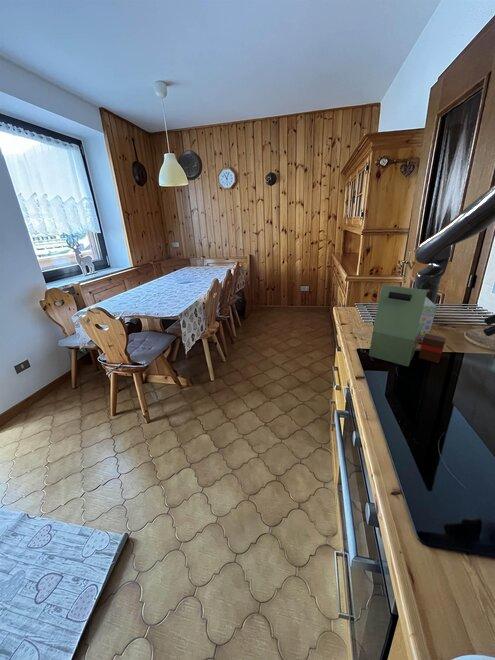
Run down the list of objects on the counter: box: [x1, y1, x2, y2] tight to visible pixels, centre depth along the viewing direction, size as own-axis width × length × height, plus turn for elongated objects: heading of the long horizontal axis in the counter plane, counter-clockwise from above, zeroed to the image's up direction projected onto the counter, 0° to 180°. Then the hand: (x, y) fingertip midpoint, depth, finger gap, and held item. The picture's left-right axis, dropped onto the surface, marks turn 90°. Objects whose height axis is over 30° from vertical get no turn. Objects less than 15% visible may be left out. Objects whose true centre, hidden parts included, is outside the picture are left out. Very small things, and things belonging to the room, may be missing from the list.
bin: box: [368, 323, 423, 368], centre depth 99 cm, size 15×13×10 cm
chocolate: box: [418, 333, 447, 364], centre depth 95 cm, size 4×6×8 cm, turn 52°
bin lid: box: [372, 284, 427, 340], centre depth 88 cm, size 16×13×5 cm
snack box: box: [418, 297, 438, 344], centre depth 112 cm, size 21×6×15 cm, turn 168°
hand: (485, 327), depth 84 cm, fingers open, 8 cm apart
